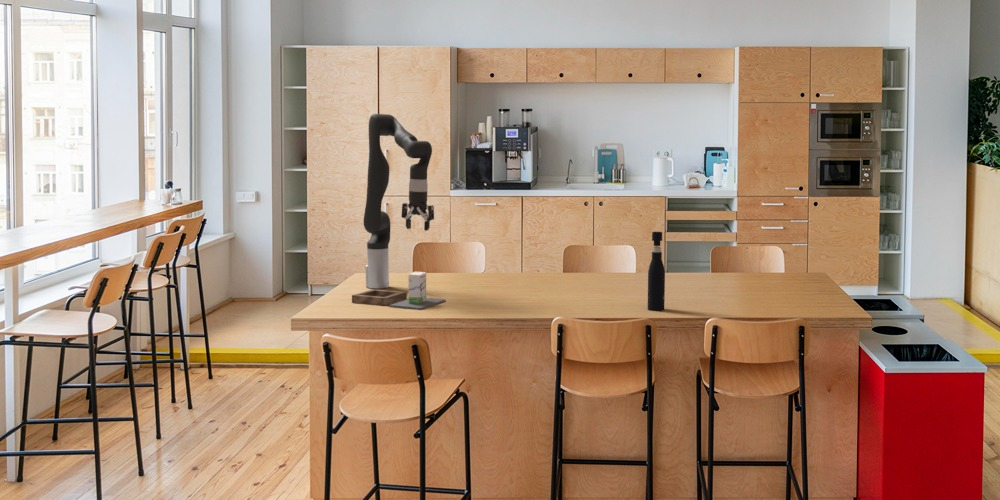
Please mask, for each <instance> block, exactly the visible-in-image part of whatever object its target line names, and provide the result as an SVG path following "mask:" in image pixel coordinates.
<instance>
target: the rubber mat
mask: <svg viewBox="0 0 1000 500" xmlns="http://www.w3.org/2000/svg"><path fill="white" fill-rule="evenodd" d="M445 302H447V300H446V299H444V298H443V299H441V298H430V297H426V301H425V302H423V303H421V304H409V298H407V299H406V300H403V301H400V302H396V303H393V304H390V305H389V308H397V309H406V310H418V311H420V310H425V309H427V308H431V307H434V306H437V305H439V304H443V303H445Z"/></svg>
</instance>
